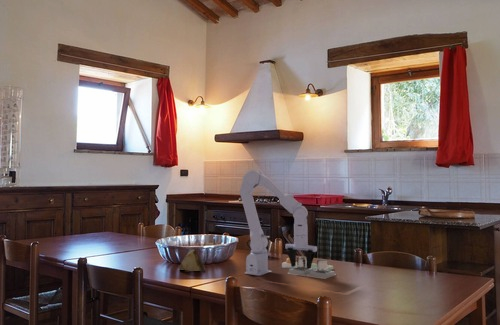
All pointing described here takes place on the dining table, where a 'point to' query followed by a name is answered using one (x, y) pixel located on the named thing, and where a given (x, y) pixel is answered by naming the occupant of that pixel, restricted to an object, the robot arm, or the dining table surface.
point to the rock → (192, 262)
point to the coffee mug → (267, 245)
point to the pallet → (311, 273)
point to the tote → (316, 266)
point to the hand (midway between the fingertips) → (301, 267)
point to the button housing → (286, 265)
